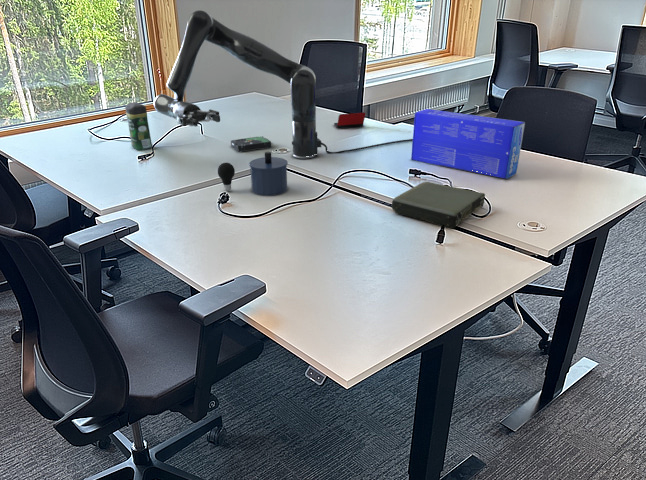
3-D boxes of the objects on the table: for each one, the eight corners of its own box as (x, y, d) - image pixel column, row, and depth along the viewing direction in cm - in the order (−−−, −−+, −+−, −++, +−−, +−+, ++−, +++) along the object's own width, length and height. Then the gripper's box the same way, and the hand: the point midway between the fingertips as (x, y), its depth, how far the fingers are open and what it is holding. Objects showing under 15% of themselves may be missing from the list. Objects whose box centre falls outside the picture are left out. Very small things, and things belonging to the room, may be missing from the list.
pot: (282, 182, 207) (281, 157, 203) (290, 193, 197) (290, 167, 193) (249, 185, 205) (247, 160, 200) (256, 197, 195) (254, 171, 190)
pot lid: (282, 158, 203) (282, 145, 201) (291, 169, 193) (291, 155, 190) (246, 162, 201) (245, 149, 199) (253, 173, 190) (252, 159, 188)
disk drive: (238, 153, 241) (271, 147, 245) (238, 146, 239) (271, 140, 244) (230, 146, 249) (262, 141, 254) (230, 140, 247) (262, 135, 252)
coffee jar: (129, 146, 254) (122, 102, 244) (146, 143, 257) (140, 100, 248) (136, 151, 246) (129, 106, 237) (154, 148, 250) (147, 103, 240)
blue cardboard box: (517, 174, 207) (526, 121, 197) (506, 180, 202) (515, 126, 192) (422, 155, 230) (426, 107, 221) (410, 160, 225) (414, 111, 215)
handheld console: (359, 123, 277) (359, 107, 273) (365, 128, 268) (366, 112, 264) (333, 125, 275) (333, 109, 271) (338, 130, 266) (339, 114, 262)
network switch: (462, 232, 166) (465, 215, 163) (386, 217, 177) (387, 201, 174) (486, 205, 183) (488, 189, 180) (415, 193, 194) (416, 178, 191)
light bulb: (239, 189, 202) (236, 160, 197) (232, 194, 198) (229, 166, 193) (223, 187, 204) (221, 159, 199) (216, 193, 199) (213, 164, 194)
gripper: (167, 105, 205) (187, 113, 193) (203, 99, 211) (225, 106, 200) (170, 127, 208) (190, 136, 197) (205, 120, 215) (227, 128, 203)
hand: (207, 121), depth 198 cm, fingers open, 8 cm apart
